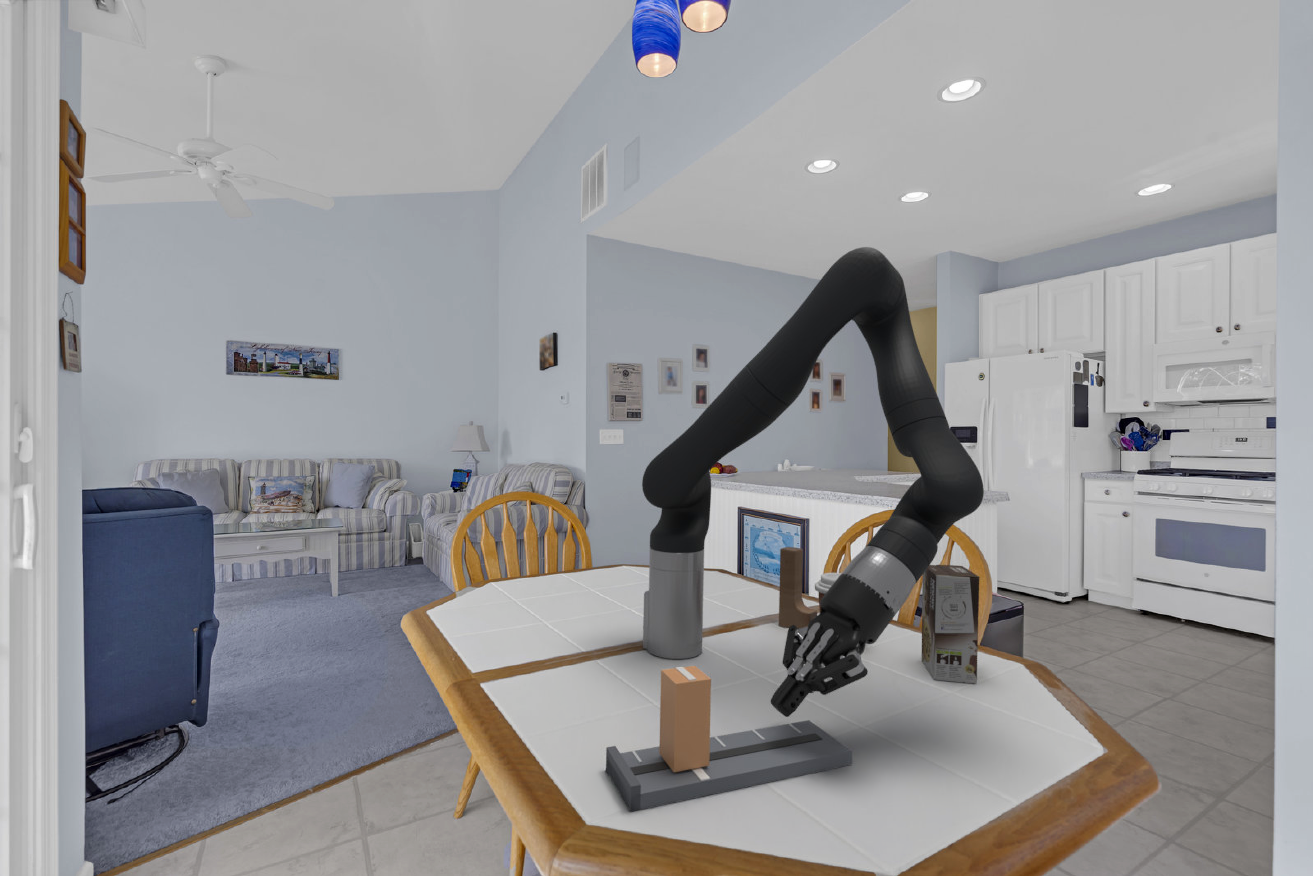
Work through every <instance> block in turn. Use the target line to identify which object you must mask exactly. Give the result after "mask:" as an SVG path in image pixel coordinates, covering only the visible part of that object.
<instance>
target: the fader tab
mask: <svg viewBox="0 0 1313 876" xmlns="http://www.w3.org/2000/svg"><path fill="white" fill-rule="evenodd" d="M711 697H712V678H710V677H709V676H708V675H707V674H706V673H704V672H703V671H702V670H701V669H699V668H698V667H697V666H696V665H692V666H676V667H674V668H666V669H665V668H664V669H661V670H660V698H659V699H660V703H659V704H660V705H659V707H660V708H659V709H660V710H659V712H660V713H659V745H658V747H659V754H660V755H661V756H662V758H663V759H664V760H665V761H666V763H667V764H668V765H669V767H670V768H671V769H672V770H673V772H678V771H683V770H689V769H694V768H699V767H704V766H709V755H710V737H711V707H712V706H711V703H712V700H711V699H712V698H711Z"/></svg>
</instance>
